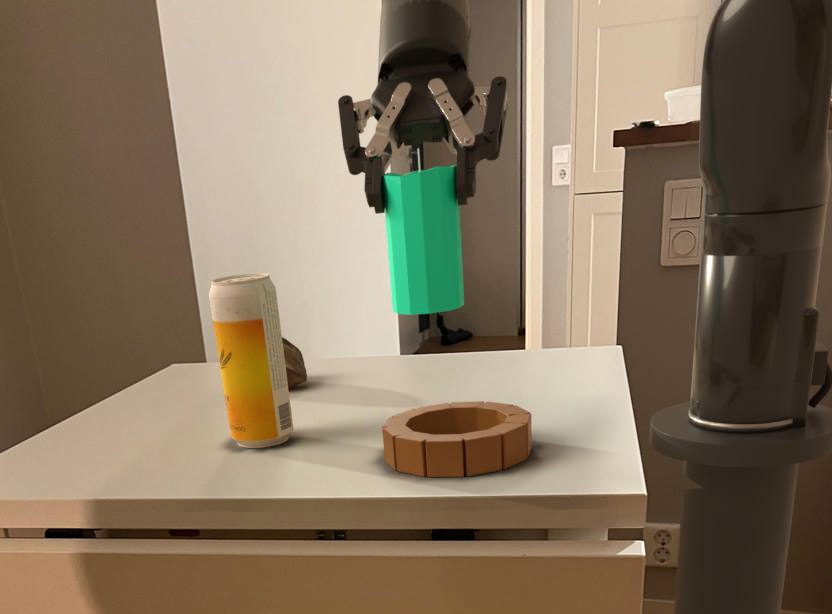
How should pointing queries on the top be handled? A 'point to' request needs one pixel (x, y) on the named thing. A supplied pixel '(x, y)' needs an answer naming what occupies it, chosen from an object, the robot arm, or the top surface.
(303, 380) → the fossilized seashell
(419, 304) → the candle
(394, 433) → the brown segmented block ring
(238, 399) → the beer can
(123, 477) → the top surface
